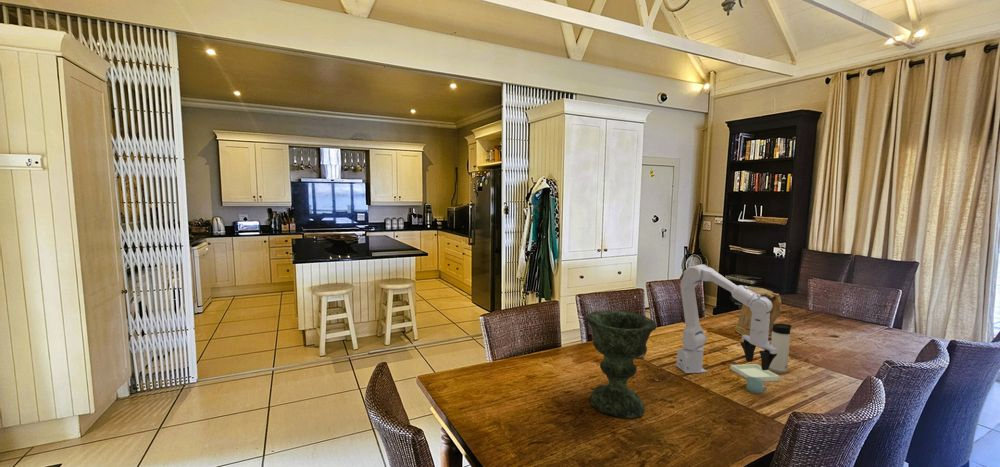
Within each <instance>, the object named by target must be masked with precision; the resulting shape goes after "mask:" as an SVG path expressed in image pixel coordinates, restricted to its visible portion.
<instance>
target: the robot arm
mask: <svg viewBox="0 0 1000 467" xmlns="http://www.w3.org/2000/svg"><path fill="white" fill-rule="evenodd" d="M700 282H711V283H714V284H716V285H717V286H719V287H720V288H723V289H724V290H726V291H729V292H730V294H731V297H732V298H733V299H735V300H737V301H738V302H740V303H741V304H742V305H743V304H744V305H746V306H748V307H750V310H751V311H752V317H751V329H750V336H747V335H741V342H740V346H741V347H742V350H743V352H744V357H745V361H746V362H747V363H749V362H750V363H752V362H753V360H754V355H755V350H756V347H757V348H760V349H762V350H759V351H758V352H759V355H760V360H761V364H760V366H761V367H762V370H770V369H769V366H770V364H771V362H772V360H773V359H774V358H775V357H776V356H777V348H775V347H773V346H772V345H771V341H769V339H768V334H769V322H770V319H769V318H770V312H769V311H771V310H772V307H773V304H772V302H771V301H770V300H769V299H768V298H767V297H760V296H761V295H760V294H756V293H754V292H753V291H751V290H749V289H748V288H749V287H748V286H747V285H742V284H739V285H737V284H735V283H733V281H731V280H729V279H728V278H726V277H724V276H723V275H722V274H720V273H719V272H717V271H716V270H715V269H714V268H712V267H709V266H708V265H706V264H704V263H703V264H702V263H701V264H697V265H691V266H688V267H687V268H686V269H685V270H683V276H682V278H681V281H680V292H681V300H682V301H681V302H682V307H683V315H684V316H683V317H684V323H685V326H684V329H683V332H682V335H683V336H682V339H681V343H682V345H683V347H682V348H679V349H678V350H677V352H676V364H675V367H677V368H678V369H679V370H681V371H682V372H684V373H686V374H696V373H697V374H699V373H700V374H701V373H708V371H707V370H706V369H705V368H703V365H704V364H703V362H704V361H703V360H704V345H705V344H706V343H707V335H706V334H705V333H704V328H703V327H702V326H701V324H700V317H699V310H698V305H697V296H696V295H697V294H696V287H697V286H698V285H699V284H701V283H700ZM768 312H769V313H768Z"/></svg>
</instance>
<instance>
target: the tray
mask: <svg viewBox="0 0 1000 467" xmlns="http://www.w3.org/2000/svg"><path fill="white" fill-rule="evenodd" d="M730 370H731V371H732V372H734V373H736V374H737V375H739V376H740V377H742V378H744V379H746V380H747V377H756V378H759V379H762V380H763V383H765V382H767V383H768V382H780V375H778V374H776V372H773V371H771V370H770V369H768V370H762V367H761V365H759V364H758V363H747V364H730Z"/></svg>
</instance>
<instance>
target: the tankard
mask: <svg viewBox="0 0 1000 467" xmlns="http://www.w3.org/2000/svg"><path fill="white" fill-rule="evenodd" d="M747 287H749V288H748V289H749V290H751V291H753V292H754V293H756V294H760V295H761V296H760V297H767V298H768V299H769V300H770V301H771V302H772V304H773V307H772V310H771V311H769V312H770V318H769V319H770V322H769V334H768V340H771V339H772V329H773V324H775V322H776V320H777V319H778V317H779V316H780V314H781V312H782V299H781V298H782V296H781V295H780V294H779V293H774V292H773V291H772V290H769V289H766V288H762V287H756V286H747ZM769 312H768V313H769ZM751 317H752V311H751V310H750V307H748V306H746V305H744V304H743V303H742V305H741V310H740V313H739V317H738V321H737V322H736V325H735V328H734V331H735V332H736V333H737V334H740V335H741V336H742V335H747V336H750V329H751Z"/></svg>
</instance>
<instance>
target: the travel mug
mask: <svg viewBox="0 0 1000 467" xmlns="http://www.w3.org/2000/svg"><path fill="white" fill-rule="evenodd" d="M791 329H792V325H791V324H788V323H774V324H773V329H772V339H770V340H771V341H770V344H771V345H772V346H773V347H775V348H777V356H776V357H775V358H774V359H773V360H772V362H771V364H770V366H769V369H768V370H769V371H771V372H773V373H775V374H776V373H777V374H782V375H783V374H784V375H785V374H787V373H788V366H789V355H790V353H789V352H790V343H791V341H790V340H791Z"/></svg>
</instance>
